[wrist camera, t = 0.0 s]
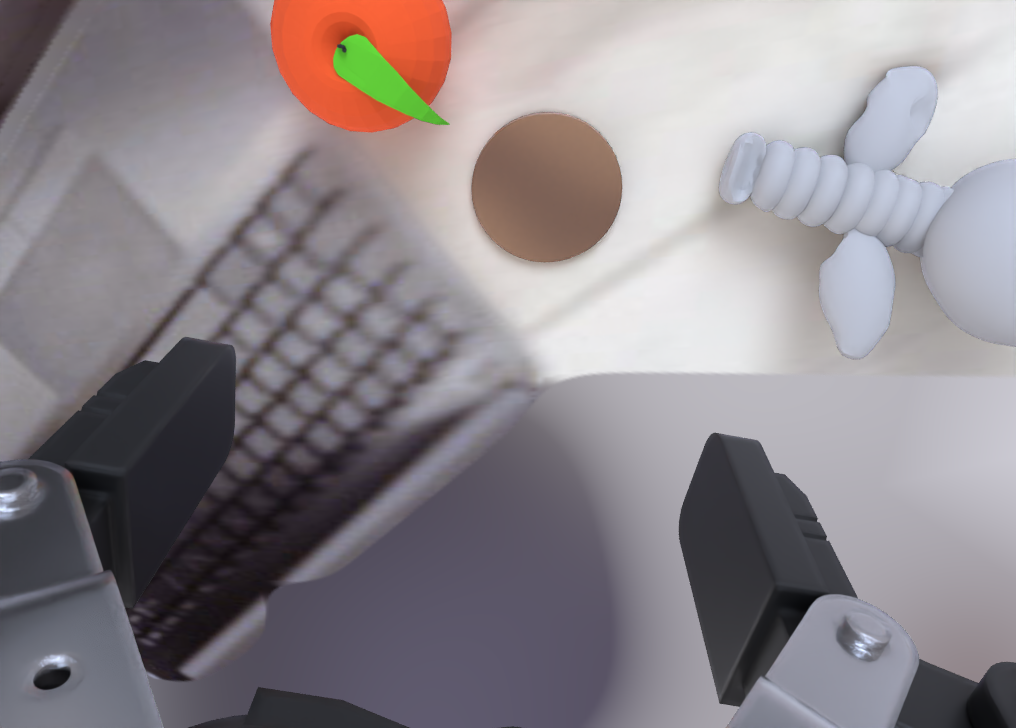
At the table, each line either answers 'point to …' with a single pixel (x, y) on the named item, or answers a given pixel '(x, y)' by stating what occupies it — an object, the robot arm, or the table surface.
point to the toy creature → (891, 218)
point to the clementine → (363, 59)
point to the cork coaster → (546, 187)
